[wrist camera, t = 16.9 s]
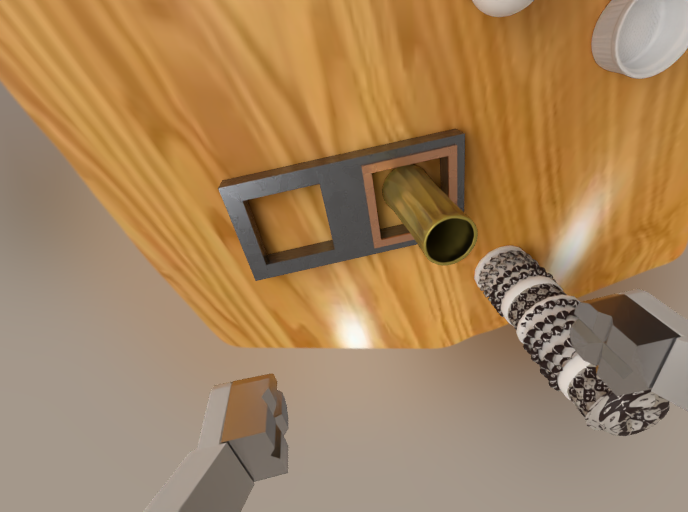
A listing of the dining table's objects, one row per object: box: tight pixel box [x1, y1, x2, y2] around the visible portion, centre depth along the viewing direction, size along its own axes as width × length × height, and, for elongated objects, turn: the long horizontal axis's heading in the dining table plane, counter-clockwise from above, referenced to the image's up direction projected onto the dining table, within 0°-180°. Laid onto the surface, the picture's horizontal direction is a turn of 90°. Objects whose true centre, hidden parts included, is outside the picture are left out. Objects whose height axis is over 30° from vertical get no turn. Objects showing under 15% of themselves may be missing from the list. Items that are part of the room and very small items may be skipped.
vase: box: [382, 164, 478, 265], centre depth 38 cm, size 6×6×14 cm
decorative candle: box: [474, 245, 669, 436], centre depth 42 cm, size 9×9×25 cm
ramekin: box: [591, 0, 688, 79], centre depth 36 cm, size 9×9×4 cm
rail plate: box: [218, 129, 465, 281], centre depth 43 cm, size 13×28×3 cm, turn 100°
